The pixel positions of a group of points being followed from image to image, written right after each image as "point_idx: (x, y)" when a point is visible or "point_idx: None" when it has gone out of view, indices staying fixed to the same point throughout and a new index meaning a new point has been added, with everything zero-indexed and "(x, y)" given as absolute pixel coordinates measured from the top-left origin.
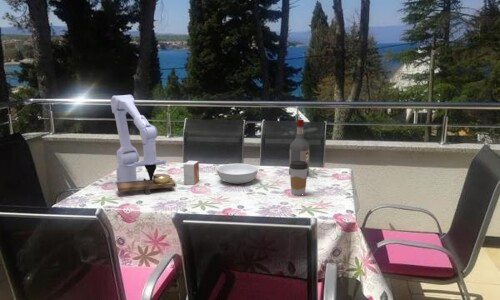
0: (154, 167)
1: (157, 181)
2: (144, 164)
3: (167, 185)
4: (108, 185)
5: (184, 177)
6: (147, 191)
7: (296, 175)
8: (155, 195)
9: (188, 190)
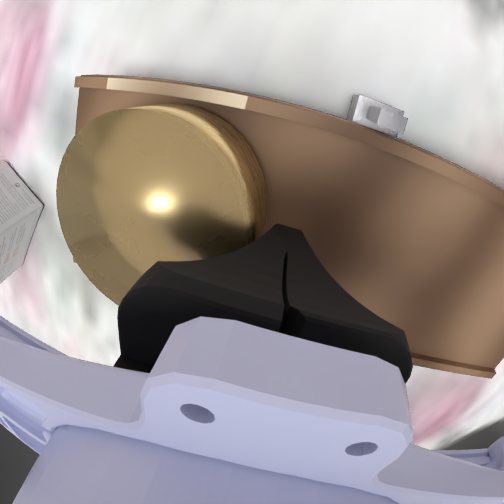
0: (183, 277)
1: (234, 141)
2: (447, 456)
3: (152, 78)
4: (431, 420)
5: (8, 223)
6: (384, 105)
7: None
8: (321, 41)
9: (51, 57)
